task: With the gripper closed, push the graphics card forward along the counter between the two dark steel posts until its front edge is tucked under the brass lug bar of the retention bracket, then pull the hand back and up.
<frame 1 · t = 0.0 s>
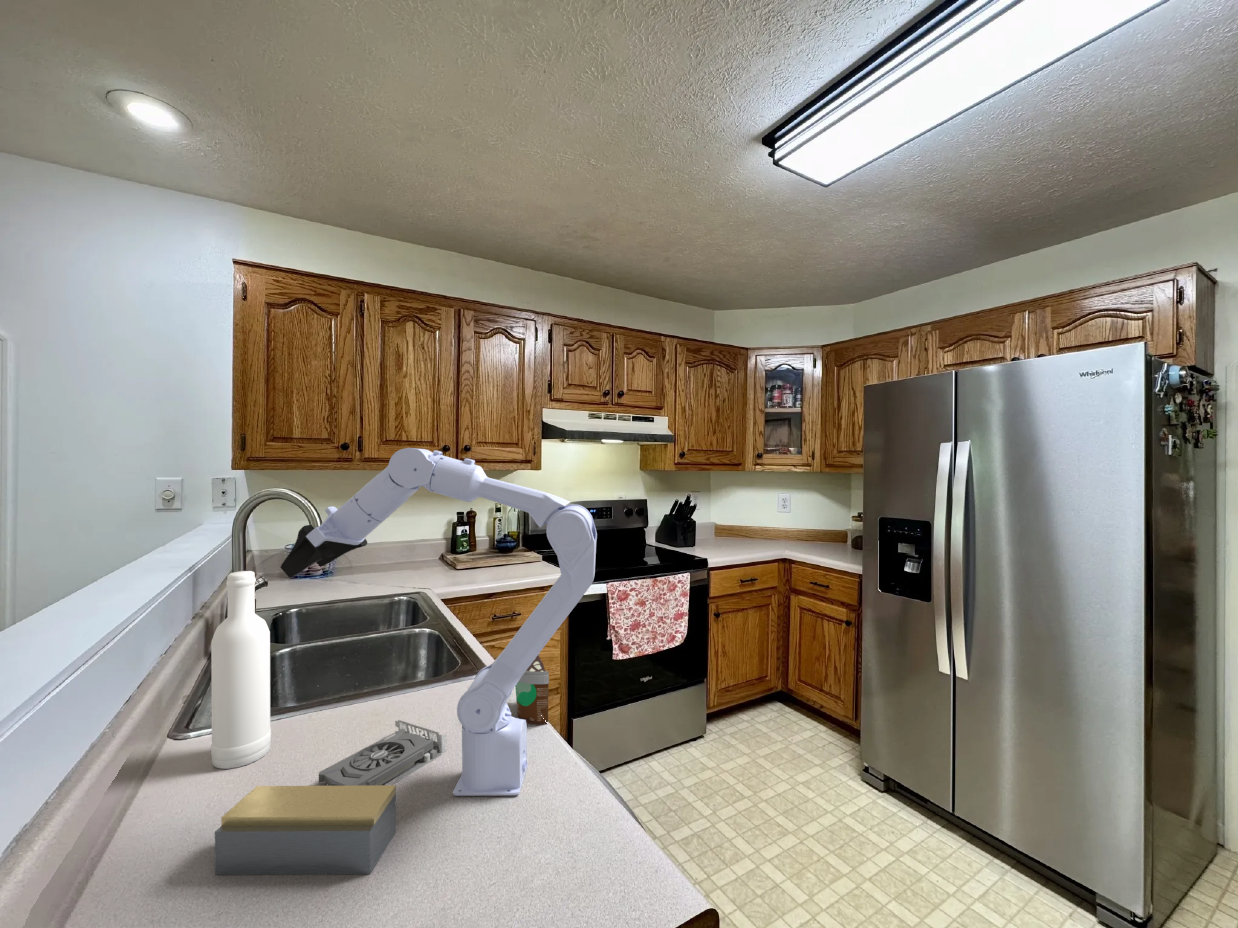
hand: (302, 566, 79), 32 cm above the counter, tool tilted 50°, fingers open, 7 cm apart
graphics card: (379, 770, 83), on the counter
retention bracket: (367, 780, 79), on the counter
food container: (527, 715, 99), on the counter
bottle: (241, 756, 86), on the counter
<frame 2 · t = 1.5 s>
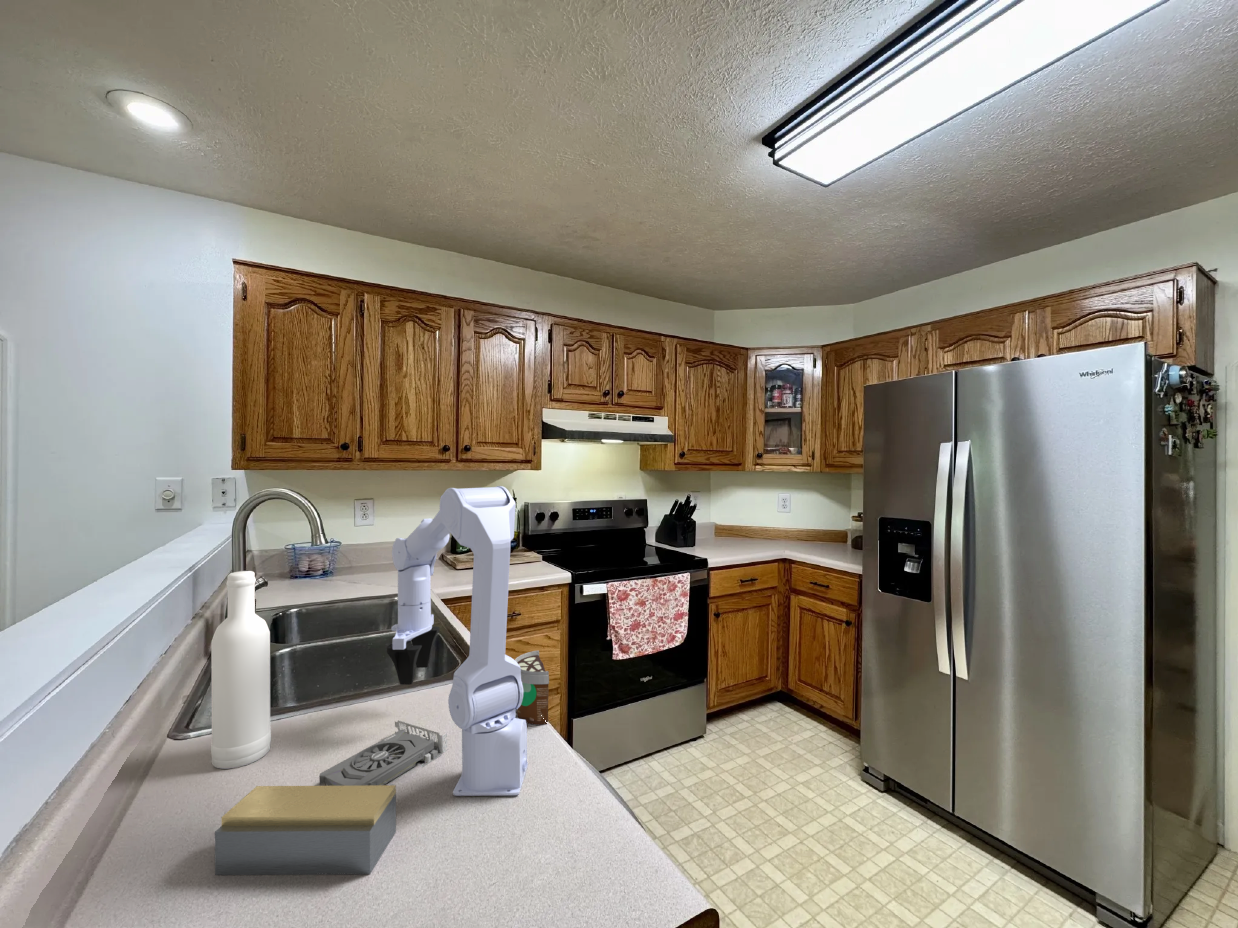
hand: (414, 674, 97), 8 cm above the counter, tool pointing down, fingers open, 7 cm apart
nothing on the counter moved.
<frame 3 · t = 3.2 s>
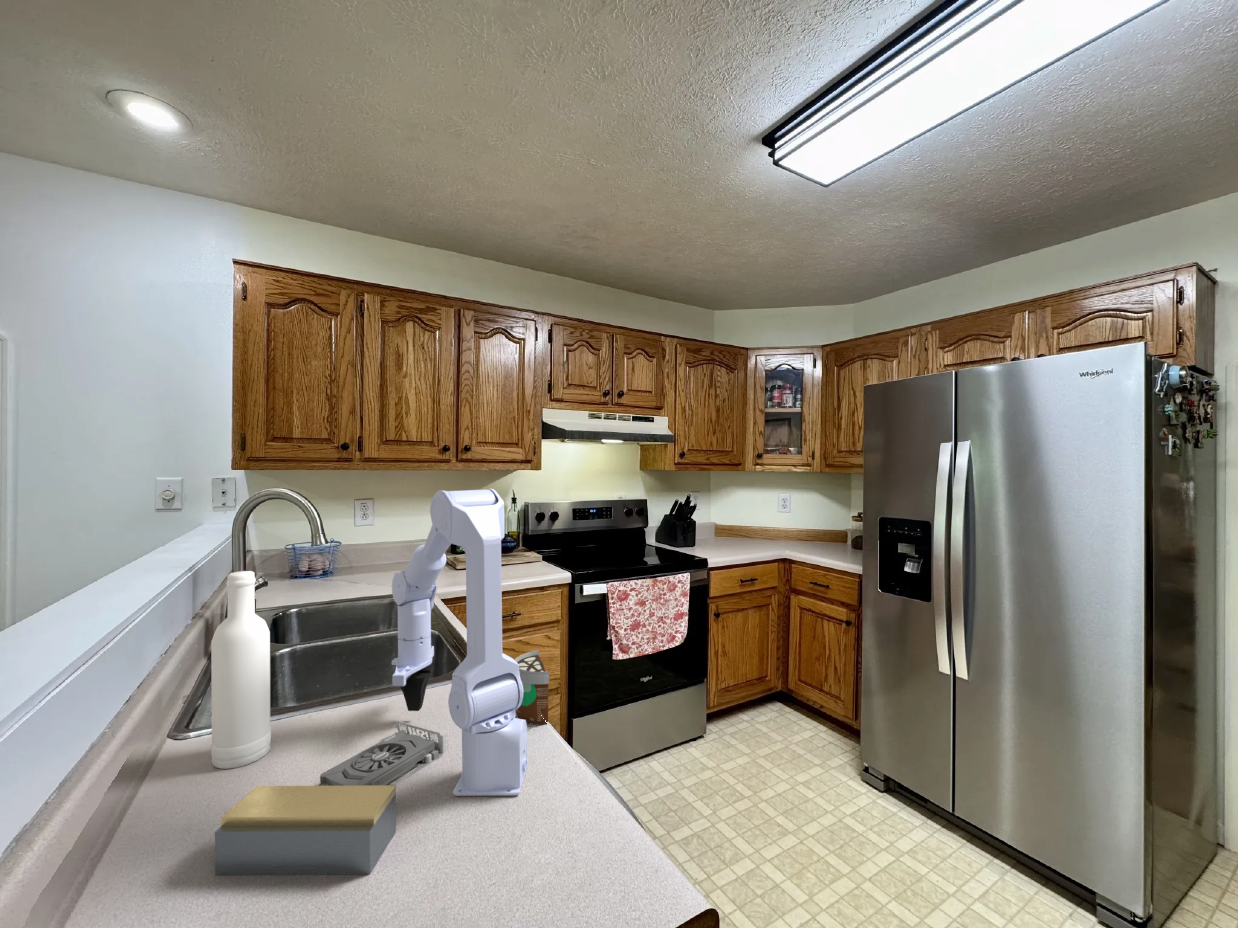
hand: (414, 709, 97), 2 cm above the counter, tool pointing down, fingers closed
nothing on the counter moved.
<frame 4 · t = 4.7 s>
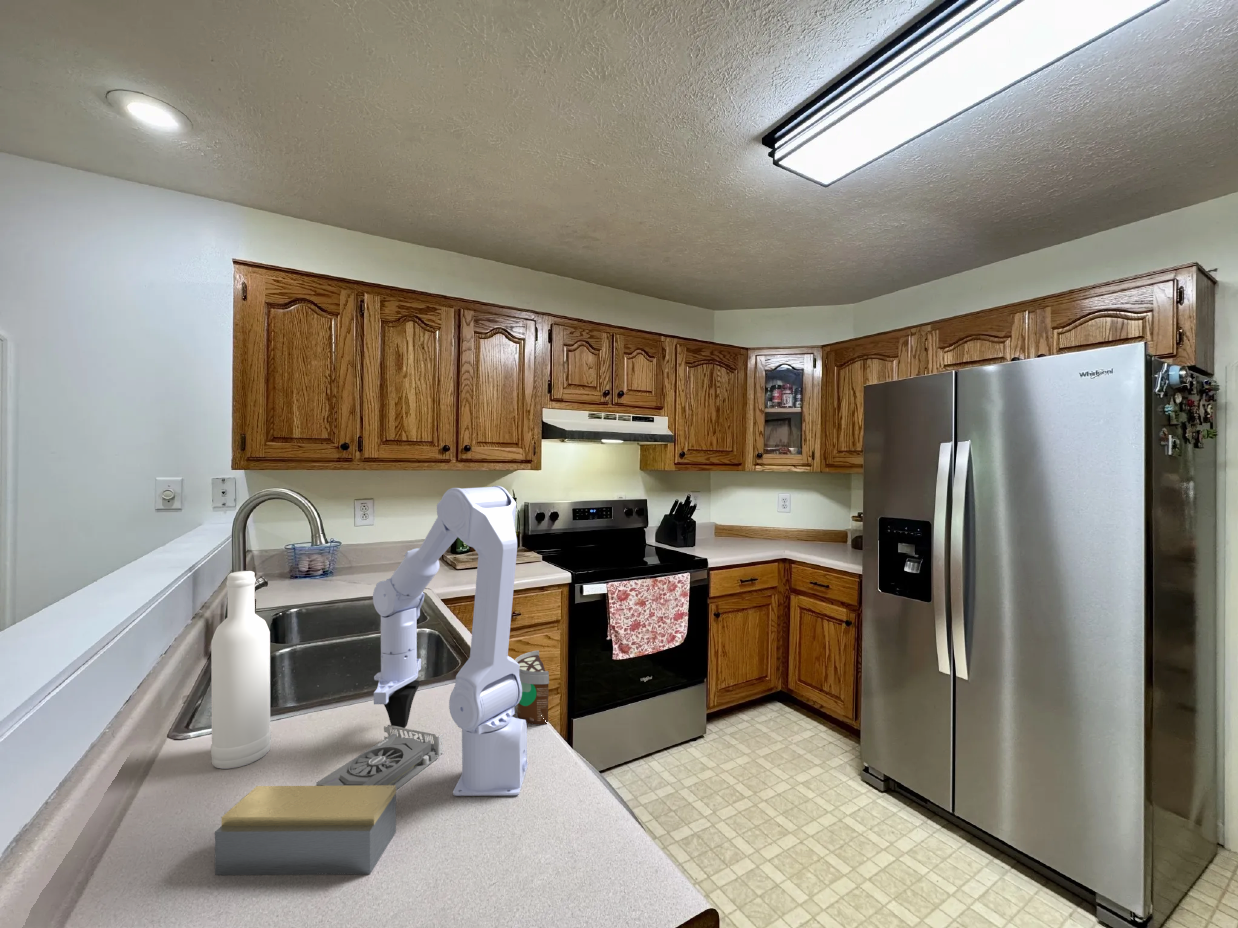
hand: (399, 727, 90), 2 cm above the counter, tool pointing down, fingers closed
graphics card: (376, 776, 80), on the counter
everything else where it was.
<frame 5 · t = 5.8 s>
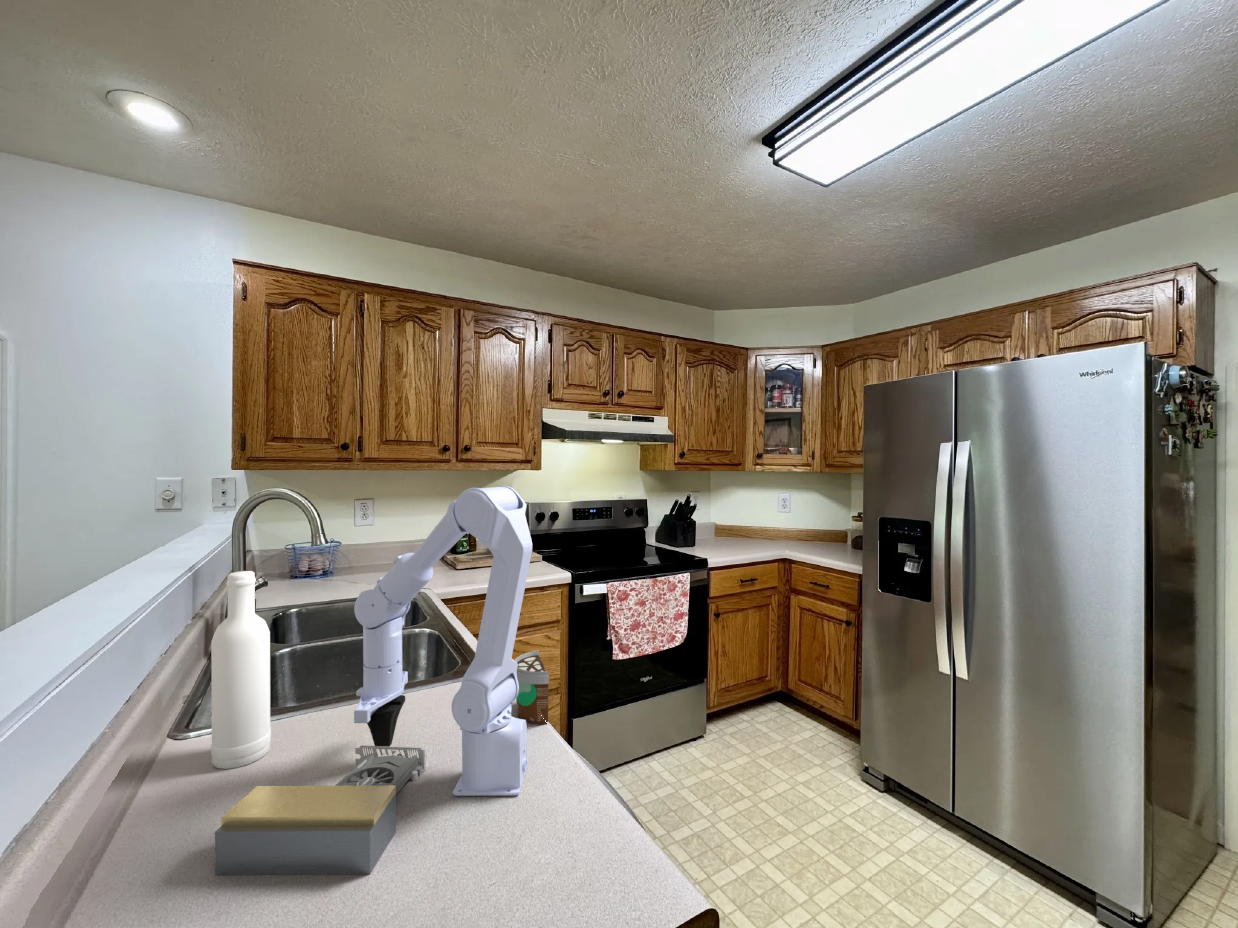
hand: (383, 746, 84), 2 cm above the counter, tool pointing down, fingers closed
graphics card: (362, 800, 75), on the counter, touching gripper
everything else where it was.
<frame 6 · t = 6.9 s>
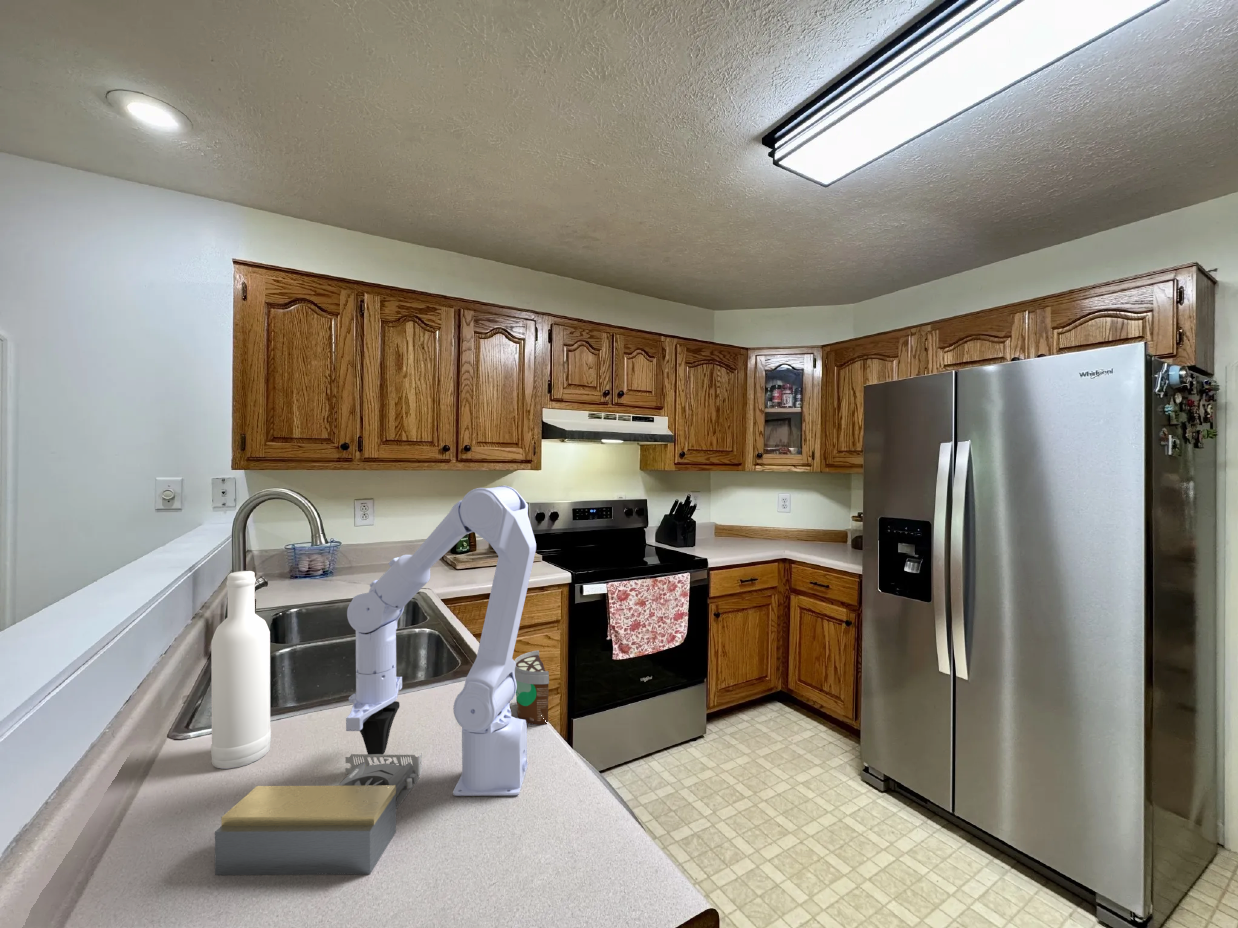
hand: (376, 754, 82), 2 cm above the counter, tool pointing down, fingers closed
graphics card: (356, 810, 73), on the counter
everything else where it was.
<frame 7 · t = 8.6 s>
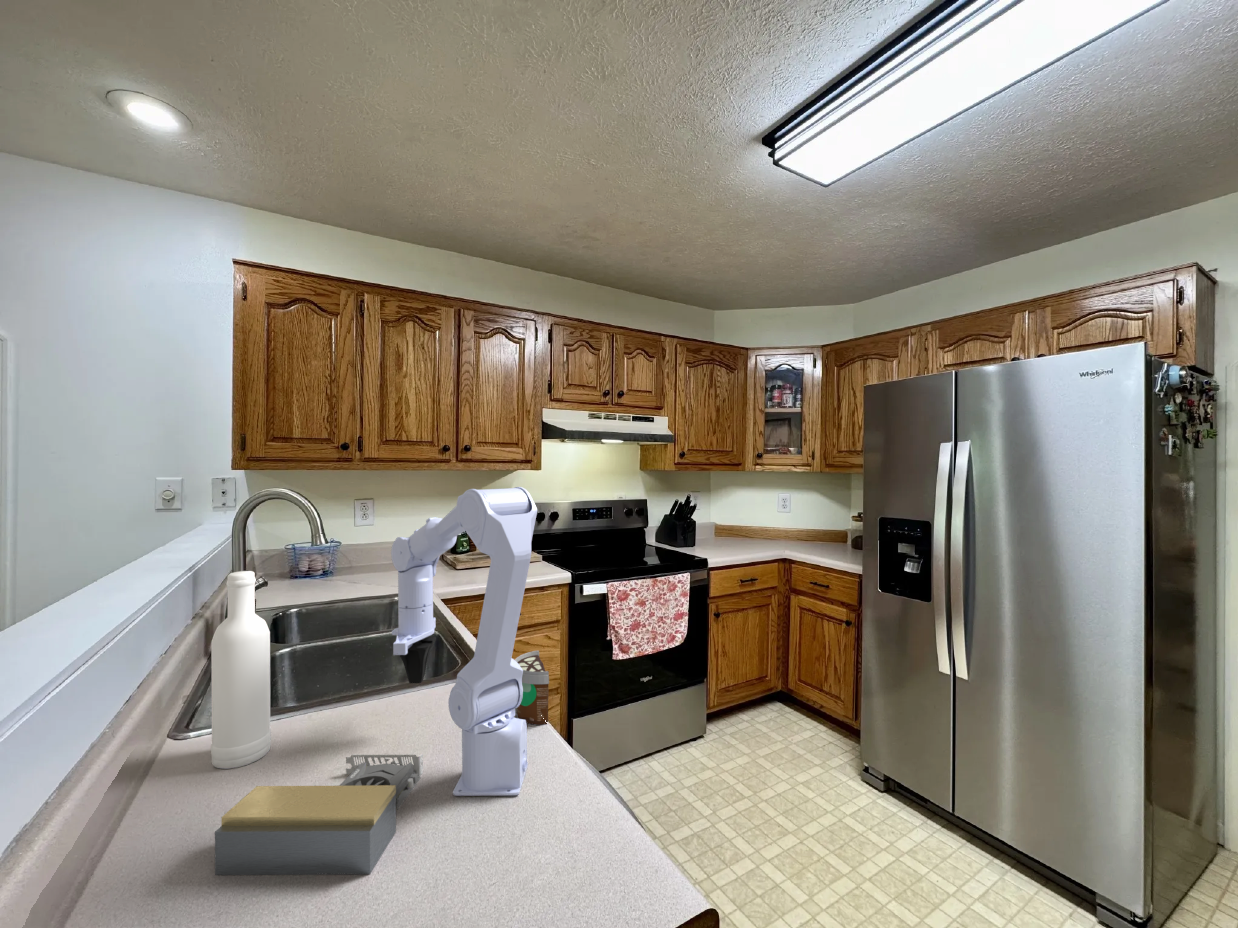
hand: (416, 681, 92), 9 cm above the counter, tool pointing down, fingers closed
nothing on the counter moved.
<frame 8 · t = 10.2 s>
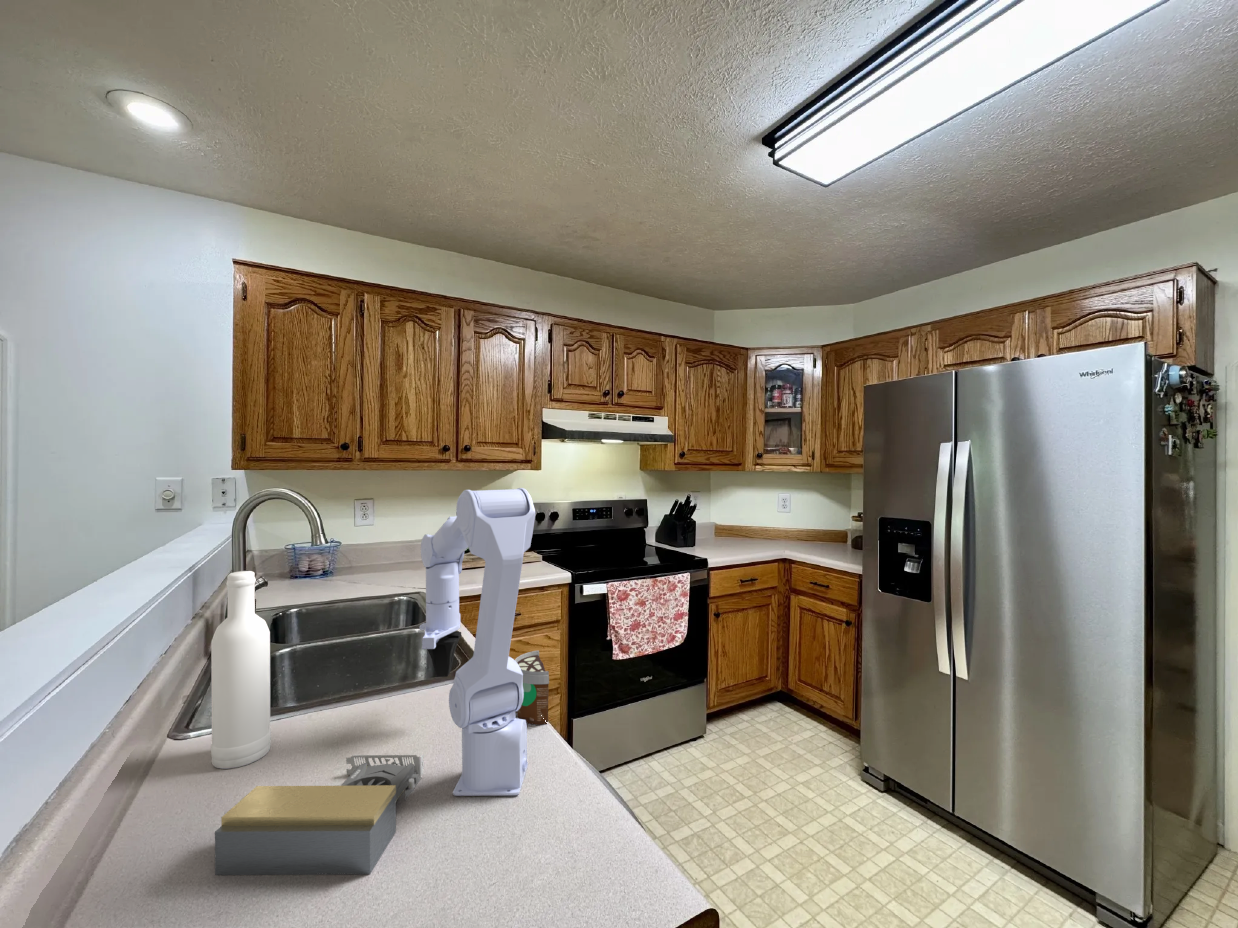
hand: (443, 675, 95), 9 cm above the counter, tool pointing down, fingers closed
nothing on the counter moved.
at the end: graphics card 1.7 cm from the target spot, on the counter; graphics card moved 10.0 cm from its start; graphics card on the counter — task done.
